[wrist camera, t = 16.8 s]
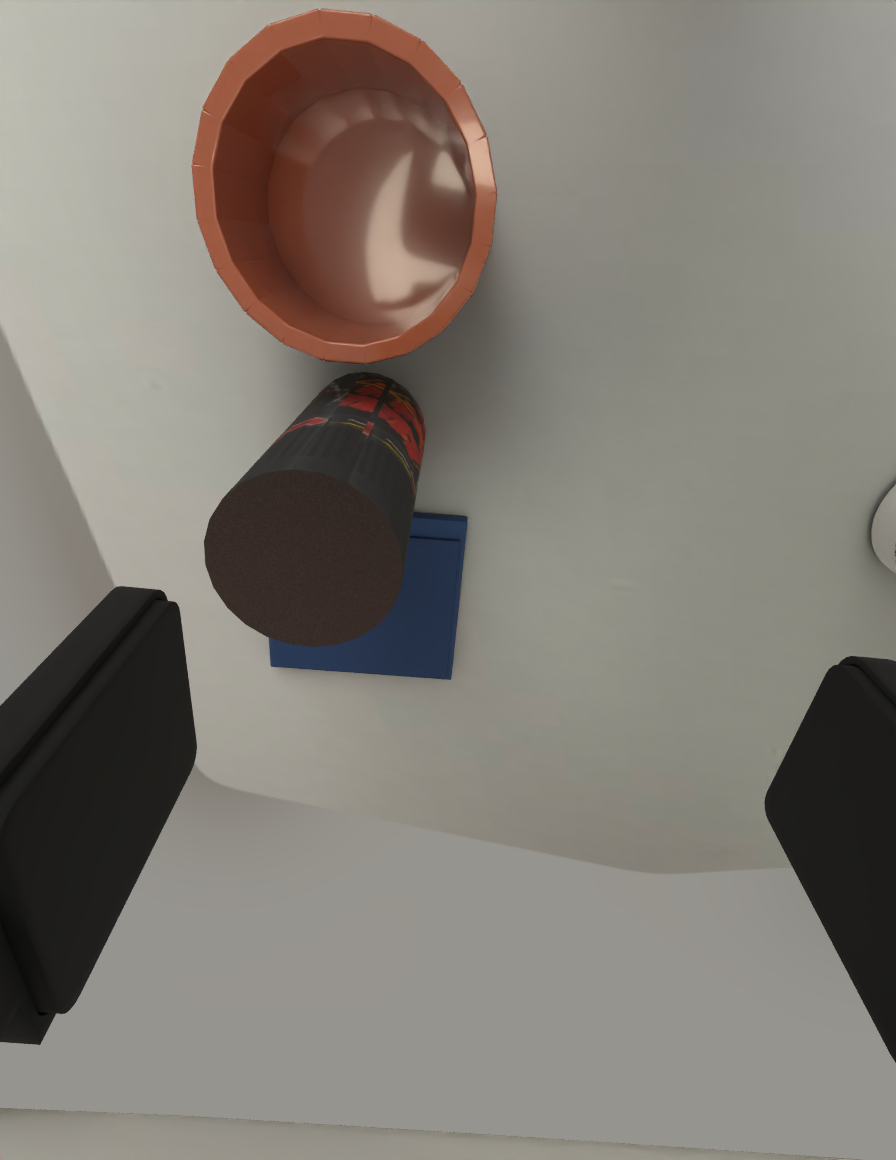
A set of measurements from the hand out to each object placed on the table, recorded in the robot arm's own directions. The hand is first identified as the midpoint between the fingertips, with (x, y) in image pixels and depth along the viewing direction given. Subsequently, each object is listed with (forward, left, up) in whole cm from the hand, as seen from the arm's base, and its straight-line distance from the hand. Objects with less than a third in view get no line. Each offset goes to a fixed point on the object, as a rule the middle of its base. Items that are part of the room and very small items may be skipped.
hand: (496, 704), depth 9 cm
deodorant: (+3, -5, -25) cm, 25 cm away
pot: (-7, -5, -24) cm, 26 cm away
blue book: (+12, -5, -24) cm, 28 cm away
